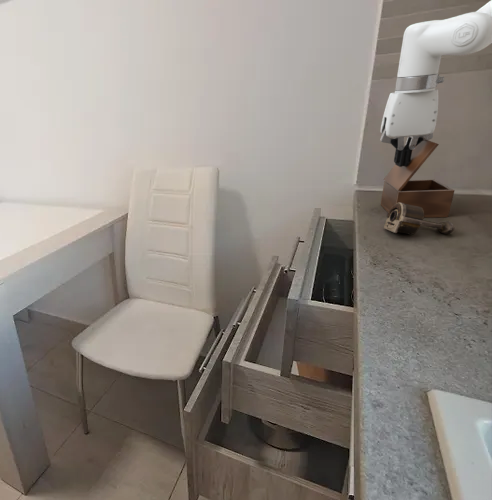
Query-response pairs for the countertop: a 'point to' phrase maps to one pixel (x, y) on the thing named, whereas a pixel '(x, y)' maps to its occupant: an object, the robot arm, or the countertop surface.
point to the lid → (410, 165)
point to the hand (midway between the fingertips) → (401, 165)
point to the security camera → (412, 220)
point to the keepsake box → (420, 197)
